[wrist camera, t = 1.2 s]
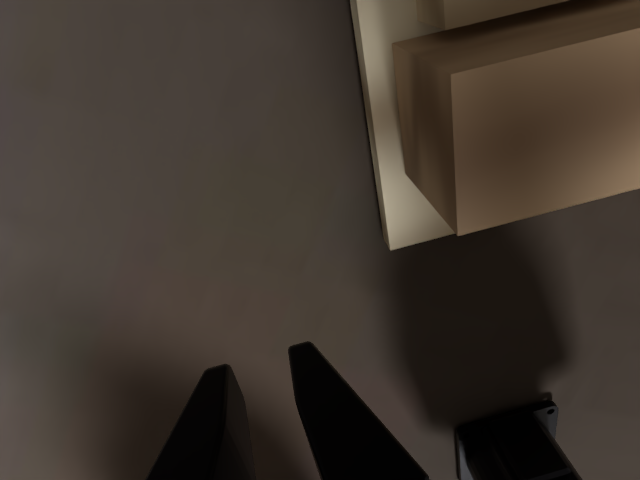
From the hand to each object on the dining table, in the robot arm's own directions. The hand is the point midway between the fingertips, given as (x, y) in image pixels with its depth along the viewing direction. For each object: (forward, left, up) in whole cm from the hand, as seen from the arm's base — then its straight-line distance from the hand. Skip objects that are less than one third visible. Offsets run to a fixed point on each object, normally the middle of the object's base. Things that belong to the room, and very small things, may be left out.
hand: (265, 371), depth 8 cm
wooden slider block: (+2, -10, -11) cm, 15 cm away
